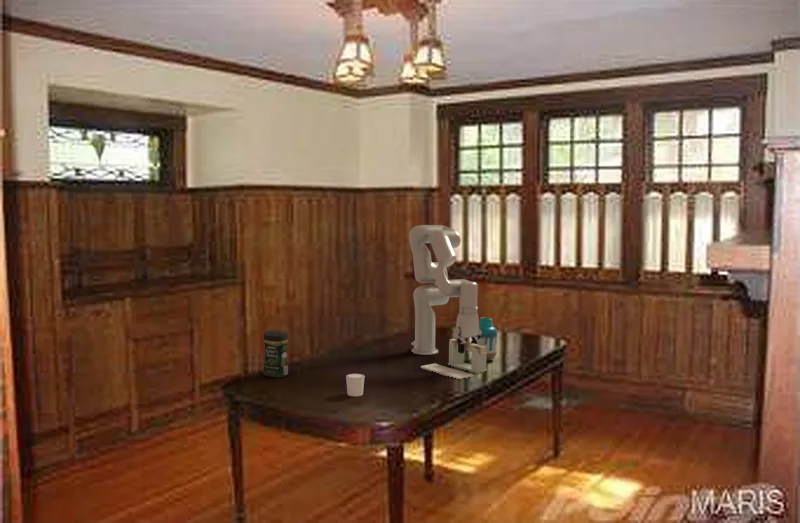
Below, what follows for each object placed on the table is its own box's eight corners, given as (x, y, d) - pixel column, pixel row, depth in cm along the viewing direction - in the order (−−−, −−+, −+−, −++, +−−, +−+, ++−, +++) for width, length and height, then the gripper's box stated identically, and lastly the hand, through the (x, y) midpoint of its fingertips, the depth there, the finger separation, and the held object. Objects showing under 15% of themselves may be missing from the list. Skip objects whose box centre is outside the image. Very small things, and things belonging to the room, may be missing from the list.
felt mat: (420, 367, 296) (420, 366, 296) (434, 365, 301) (434, 363, 301) (458, 379, 277) (459, 377, 277) (473, 376, 282) (473, 374, 282)
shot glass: (345, 391, 259) (345, 373, 258) (364, 391, 259) (364, 373, 259) (346, 396, 252) (346, 378, 251) (364, 396, 252) (364, 377, 252)
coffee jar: (260, 376, 279) (259, 331, 278) (271, 372, 286) (271, 327, 285) (280, 379, 275) (280, 333, 274) (291, 374, 282) (291, 330, 281)
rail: (449, 346, 303) (449, 339, 302) (454, 345, 304) (454, 338, 304) (481, 354, 287) (481, 347, 287) (486, 353, 289) (486, 346, 288)
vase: (496, 363, 305) (497, 320, 303) (472, 362, 307) (473, 319, 306) (497, 358, 316) (498, 316, 314) (474, 356, 318) (475, 315, 316)
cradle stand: (447, 365, 301) (448, 342, 301) (457, 363, 305) (458, 340, 304) (476, 373, 287) (477, 349, 286) (487, 371, 291) (487, 348, 290)
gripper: (476, 307, 302) (475, 347, 304) (447, 311, 292) (446, 352, 293) (488, 309, 296) (488, 350, 298) (459, 313, 286) (458, 356, 287)
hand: (467, 351), depth 296 cm, fingers open, 6 cm apart
